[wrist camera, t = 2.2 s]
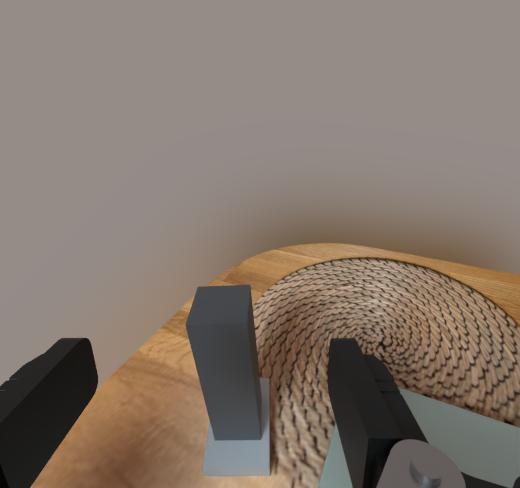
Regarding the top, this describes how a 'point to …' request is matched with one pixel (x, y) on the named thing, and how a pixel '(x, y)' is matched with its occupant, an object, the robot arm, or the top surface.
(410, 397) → the board
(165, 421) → the top surface
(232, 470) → the grey pillar on base
